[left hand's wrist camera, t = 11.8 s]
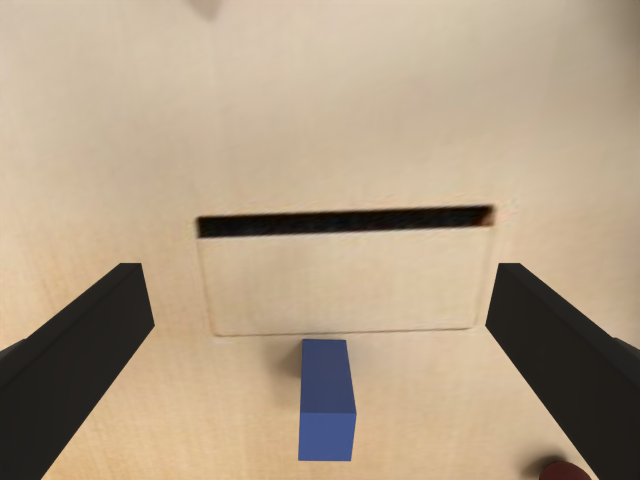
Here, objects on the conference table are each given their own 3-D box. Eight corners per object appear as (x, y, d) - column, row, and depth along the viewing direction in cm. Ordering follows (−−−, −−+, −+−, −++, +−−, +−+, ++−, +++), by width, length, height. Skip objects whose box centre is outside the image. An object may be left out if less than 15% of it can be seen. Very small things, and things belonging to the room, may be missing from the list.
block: (301, 380, 44) (298, 461, 34) (302, 339, 42) (299, 412, 32) (342, 381, 45) (350, 461, 35) (345, 340, 42) (356, 413, 32)
